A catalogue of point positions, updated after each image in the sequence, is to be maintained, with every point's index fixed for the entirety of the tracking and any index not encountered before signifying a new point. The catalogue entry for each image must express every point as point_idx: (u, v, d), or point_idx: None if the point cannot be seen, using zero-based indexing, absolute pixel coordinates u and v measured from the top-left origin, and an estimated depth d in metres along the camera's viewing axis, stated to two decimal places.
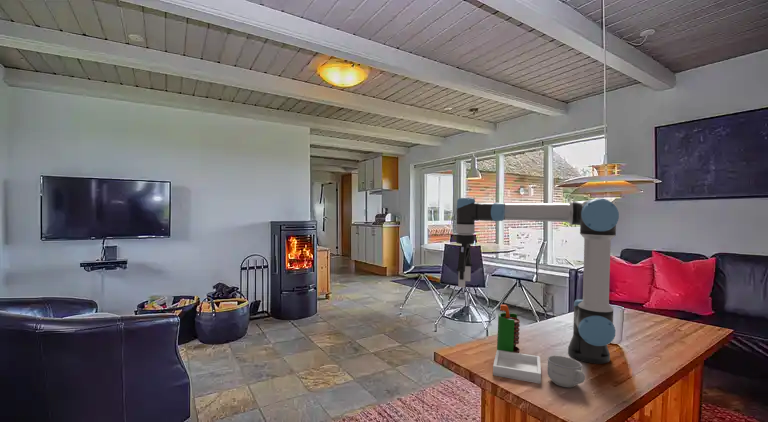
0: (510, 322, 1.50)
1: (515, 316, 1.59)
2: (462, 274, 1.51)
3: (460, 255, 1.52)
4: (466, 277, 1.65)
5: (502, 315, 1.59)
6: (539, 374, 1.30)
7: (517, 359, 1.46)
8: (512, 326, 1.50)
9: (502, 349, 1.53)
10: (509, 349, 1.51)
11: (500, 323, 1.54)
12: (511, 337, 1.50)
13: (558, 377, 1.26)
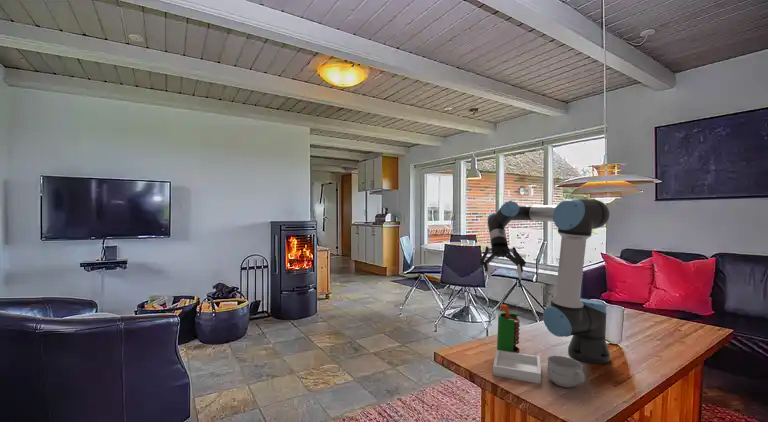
0: (510, 322, 1.50)
1: (515, 316, 1.59)
2: (484, 266, 1.70)
3: None
4: (519, 275, 1.66)
5: (502, 315, 1.59)
6: (539, 374, 1.30)
7: (517, 359, 1.46)
8: (512, 326, 1.50)
9: (502, 349, 1.53)
10: (509, 349, 1.51)
11: (500, 323, 1.54)
12: (511, 337, 1.50)
13: (558, 377, 1.26)
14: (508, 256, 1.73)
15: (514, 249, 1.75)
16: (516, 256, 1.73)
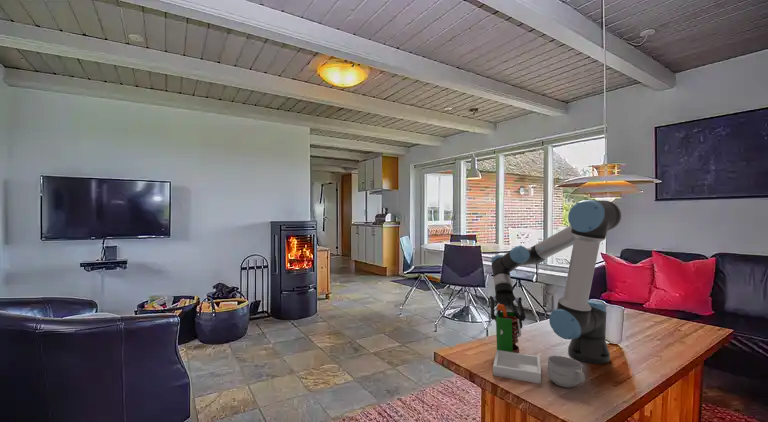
0: (508, 321, 1.50)
1: (513, 315, 1.58)
2: None
3: None
4: (518, 332, 1.53)
5: (500, 314, 1.59)
6: (539, 374, 1.30)
7: (517, 359, 1.46)
8: (510, 325, 1.50)
9: (502, 349, 1.53)
10: (508, 348, 1.51)
11: (497, 323, 1.54)
12: (510, 336, 1.50)
13: (558, 377, 1.26)
14: (511, 306, 1.61)
15: (519, 299, 1.61)
16: (519, 307, 1.60)
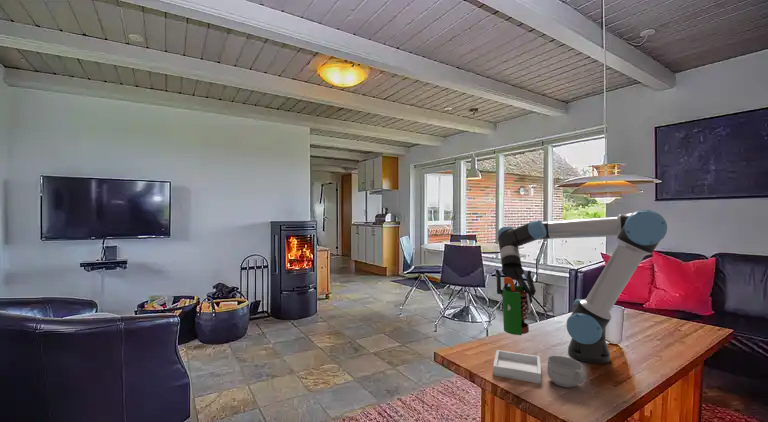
0: (516, 295, 1.35)
1: (521, 289, 1.43)
2: None
3: None
4: (527, 307, 1.38)
5: (507, 289, 1.44)
6: (539, 374, 1.30)
7: (517, 359, 1.46)
8: (518, 299, 1.35)
9: (509, 326, 1.37)
10: (517, 325, 1.36)
11: (504, 297, 1.39)
12: (518, 312, 1.35)
13: (558, 377, 1.26)
14: (519, 280, 1.45)
15: (529, 273, 1.46)
16: (528, 281, 1.45)
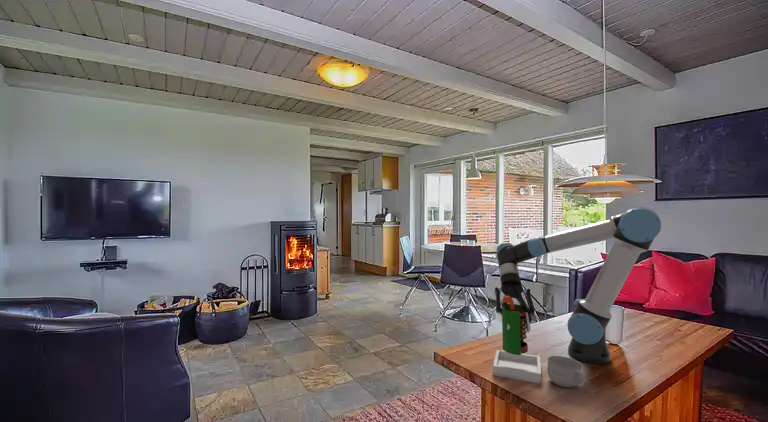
0: (516, 315, 1.35)
1: (521, 308, 1.43)
2: None
3: (496, 297, 1.46)
4: (526, 326, 1.37)
5: (506, 308, 1.43)
6: (539, 374, 1.30)
7: (517, 359, 1.46)
8: (518, 319, 1.35)
9: (508, 345, 1.37)
10: (516, 345, 1.35)
11: (504, 316, 1.38)
12: (518, 331, 1.35)
13: (558, 377, 1.26)
14: (518, 298, 1.45)
15: (528, 291, 1.46)
16: (527, 300, 1.44)
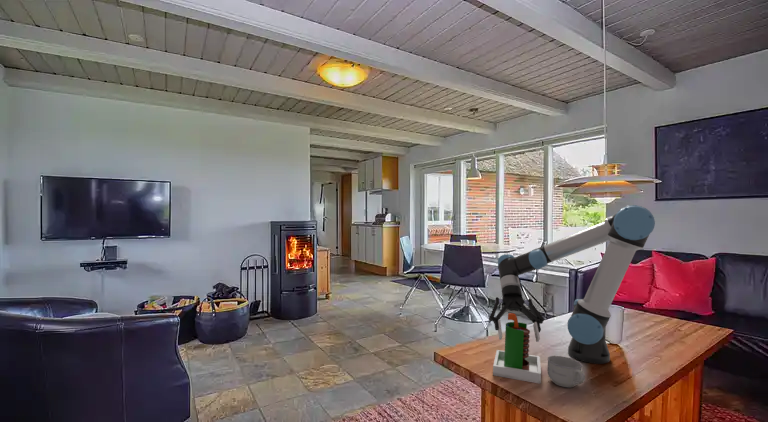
0: (519, 333, 1.35)
1: (524, 326, 1.43)
2: (495, 323, 1.42)
3: None
4: (536, 336, 1.38)
5: (510, 325, 1.43)
6: (539, 374, 1.30)
7: None
8: (521, 338, 1.35)
9: (510, 363, 1.37)
10: (518, 363, 1.35)
11: (507, 334, 1.38)
12: (520, 350, 1.35)
13: (558, 377, 1.26)
14: (523, 310, 1.45)
15: (530, 301, 1.46)
16: (532, 310, 1.45)
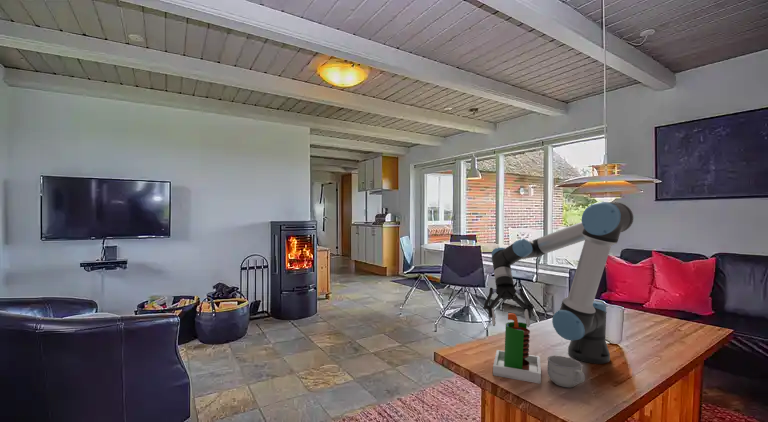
0: (519, 333, 1.35)
1: (524, 326, 1.43)
2: (488, 311, 1.55)
3: None
4: (526, 322, 1.52)
5: (510, 325, 1.43)
6: (539, 374, 1.30)
7: None
8: (521, 338, 1.35)
9: (510, 363, 1.37)
10: (518, 363, 1.35)
11: (507, 334, 1.38)
12: (520, 350, 1.35)
13: (558, 377, 1.26)
14: (514, 299, 1.58)
15: (521, 291, 1.59)
16: (523, 299, 1.58)
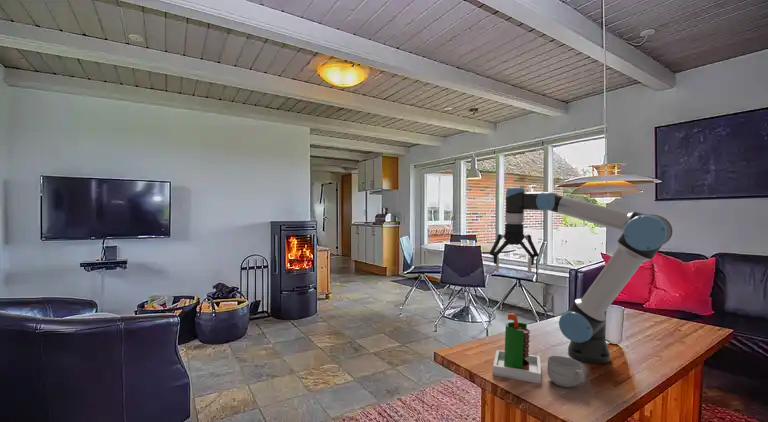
0: (519, 333, 1.35)
1: (524, 326, 1.43)
2: (494, 258, 1.62)
3: (495, 241, 1.63)
4: (528, 268, 1.62)
5: (510, 325, 1.43)
6: (539, 374, 1.30)
7: None
8: (521, 338, 1.35)
9: (510, 363, 1.37)
10: (518, 363, 1.35)
11: (507, 334, 1.38)
12: (520, 350, 1.35)
13: (558, 377, 1.26)
14: (521, 245, 1.61)
15: (529, 238, 1.60)
16: (530, 245, 1.61)
